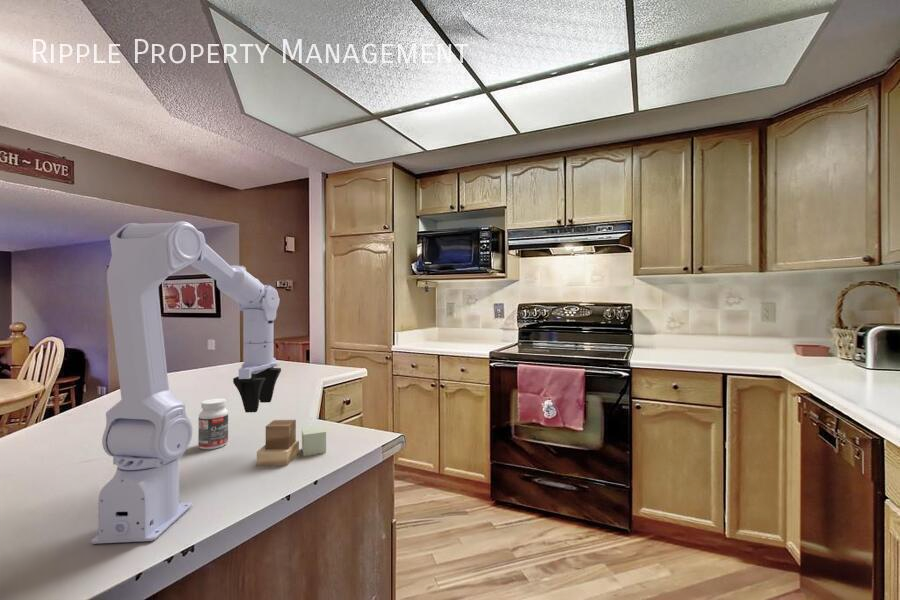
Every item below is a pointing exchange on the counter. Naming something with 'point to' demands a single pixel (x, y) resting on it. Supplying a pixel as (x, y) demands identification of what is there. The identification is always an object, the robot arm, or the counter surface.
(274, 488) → the counter surface
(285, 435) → the walnut cube
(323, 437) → the sage block
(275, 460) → the oak block
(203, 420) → the pill bottle
